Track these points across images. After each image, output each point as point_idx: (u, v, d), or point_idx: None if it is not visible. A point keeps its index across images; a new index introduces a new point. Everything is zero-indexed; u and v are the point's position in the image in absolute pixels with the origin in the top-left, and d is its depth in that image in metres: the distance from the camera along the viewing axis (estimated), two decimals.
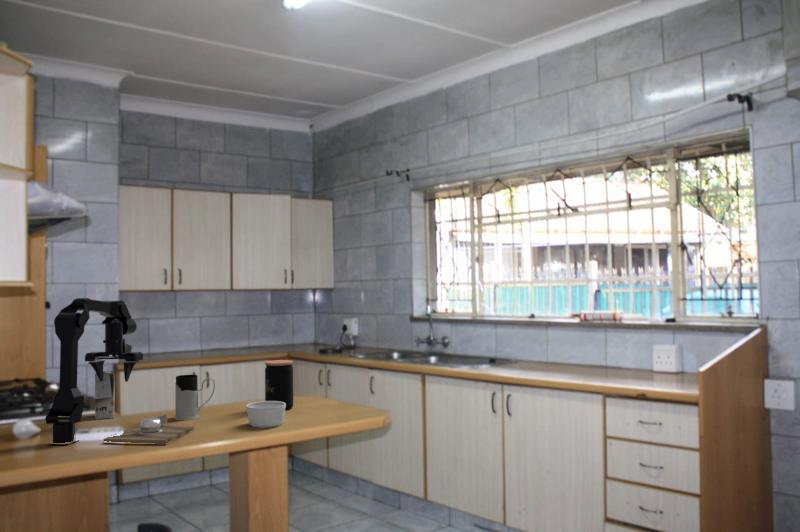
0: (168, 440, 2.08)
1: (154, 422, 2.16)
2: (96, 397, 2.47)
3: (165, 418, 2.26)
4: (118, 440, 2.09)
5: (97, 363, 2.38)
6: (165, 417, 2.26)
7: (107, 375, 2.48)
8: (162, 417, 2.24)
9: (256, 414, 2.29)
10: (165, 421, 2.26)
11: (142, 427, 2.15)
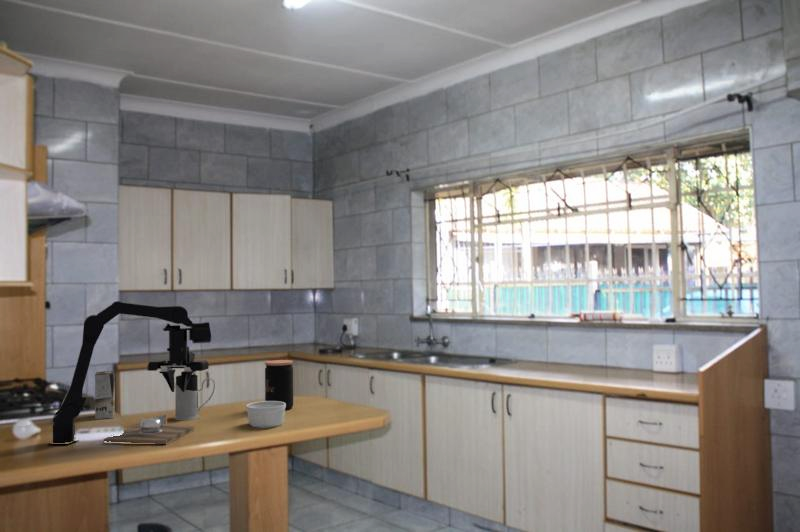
0: (168, 440, 2.08)
1: (154, 422, 2.16)
2: (96, 397, 2.47)
3: (165, 418, 2.26)
4: (118, 440, 2.09)
5: (169, 372, 2.23)
6: (165, 417, 2.26)
7: (107, 375, 2.48)
8: (162, 417, 2.24)
9: (256, 414, 2.29)
10: (165, 421, 2.26)
11: (142, 427, 2.15)
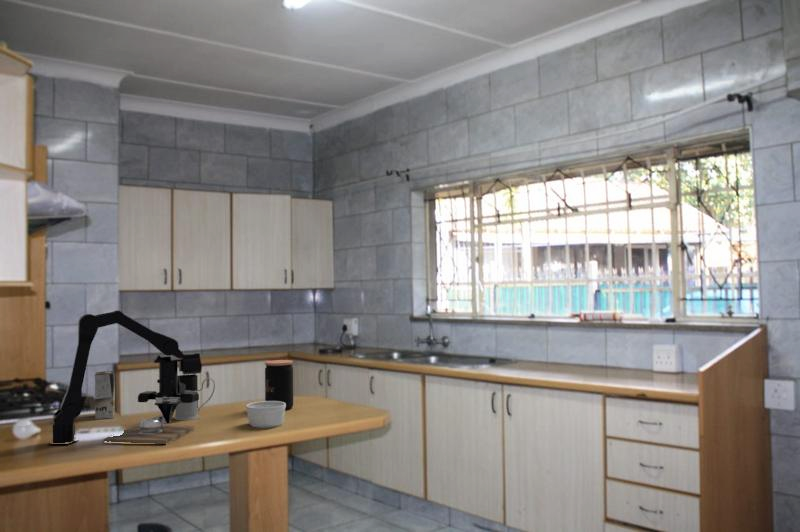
0: (168, 440, 2.08)
1: (154, 422, 2.16)
2: (96, 397, 2.47)
3: None
4: (118, 440, 2.09)
5: (164, 404, 2.23)
6: None
7: (107, 375, 2.48)
8: (162, 417, 2.24)
9: (256, 414, 2.29)
10: (165, 421, 2.26)
11: (142, 427, 2.15)
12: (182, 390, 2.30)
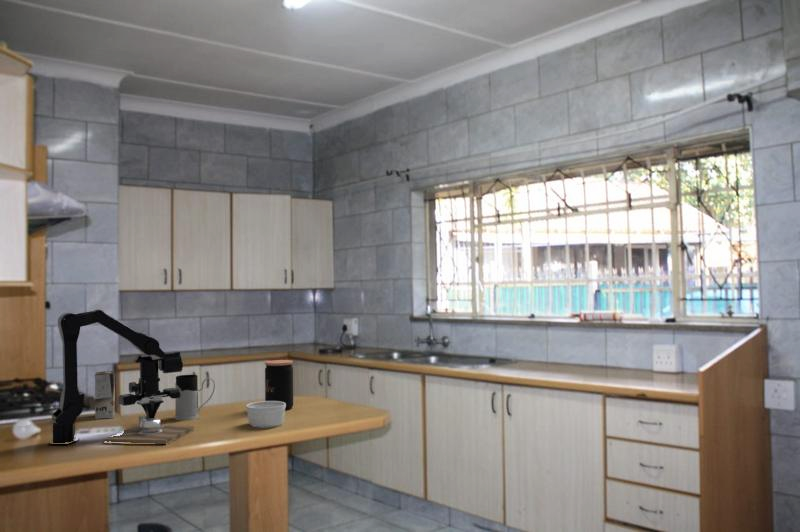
0: (168, 440, 2.08)
1: (159, 421, 2.18)
2: (96, 397, 2.47)
3: None
4: (118, 440, 2.09)
5: None
6: None
7: (107, 375, 2.48)
8: None
9: (256, 414, 2.29)
10: None
11: (149, 427, 2.15)
12: None
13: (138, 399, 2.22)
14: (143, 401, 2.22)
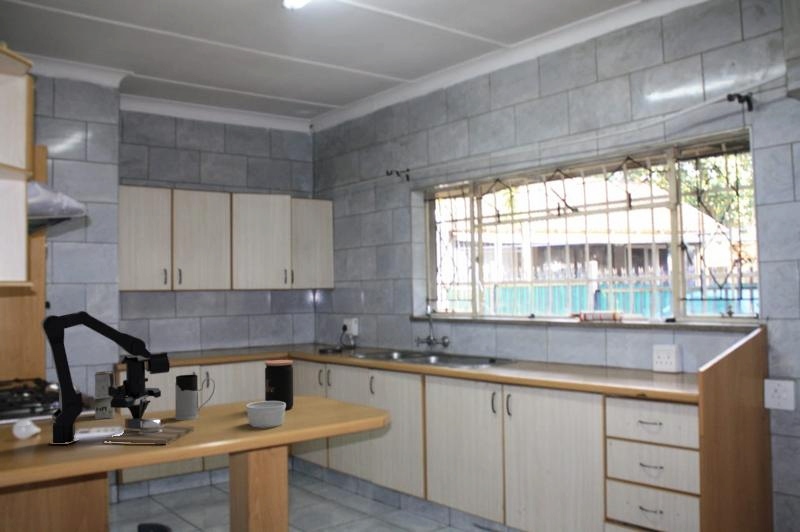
0: (168, 440, 2.08)
1: None
2: (96, 397, 2.47)
3: None
4: (118, 440, 2.09)
5: None
6: None
7: (107, 375, 2.48)
8: None
9: (256, 414, 2.29)
10: None
11: (154, 427, 2.16)
12: None
13: None
14: (136, 402, 2.19)
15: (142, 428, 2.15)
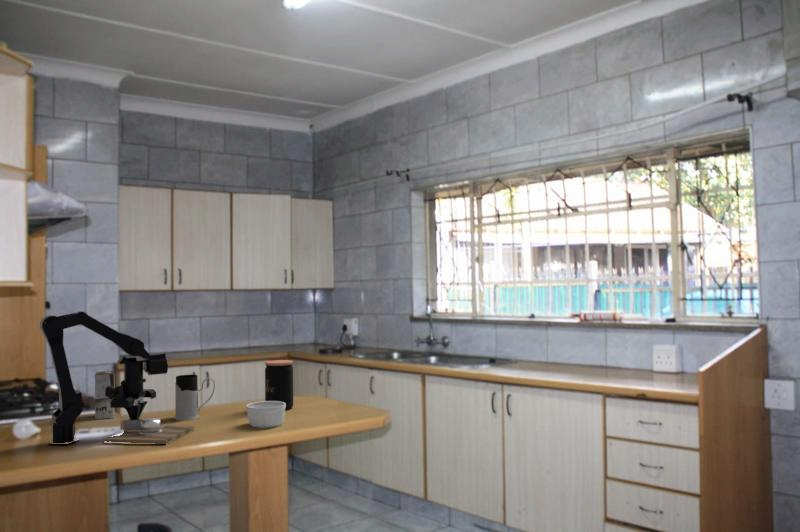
0: (168, 440, 2.08)
1: None
2: (96, 397, 2.47)
3: None
4: (118, 440, 2.09)
5: None
6: None
7: (107, 375, 2.48)
8: None
9: (256, 414, 2.29)
10: None
11: (156, 426, 2.16)
12: None
13: None
14: (135, 402, 2.19)
15: (144, 428, 2.15)
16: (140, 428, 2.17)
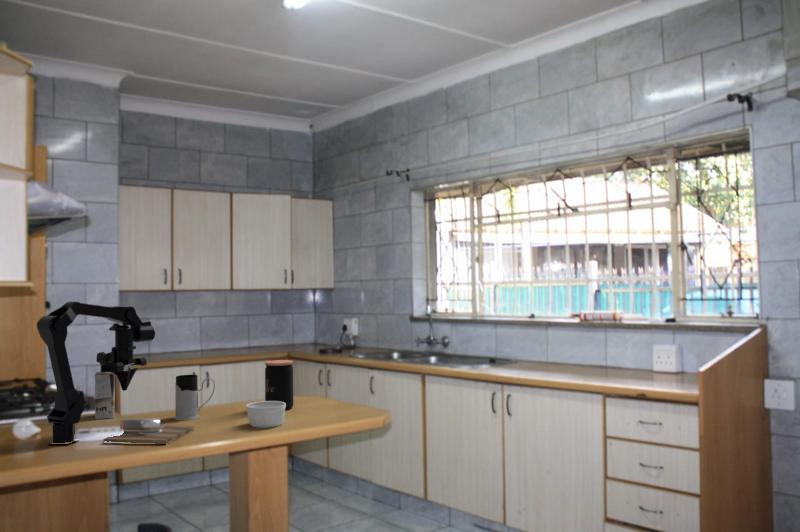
0: (168, 440, 2.08)
1: None
2: (96, 397, 2.47)
3: None
4: (118, 440, 2.09)
5: None
6: None
7: (107, 375, 2.48)
8: None
9: (256, 414, 2.29)
10: None
11: (156, 426, 2.16)
12: None
13: None
14: (125, 368, 2.26)
15: (144, 428, 2.15)
16: (140, 428, 2.17)
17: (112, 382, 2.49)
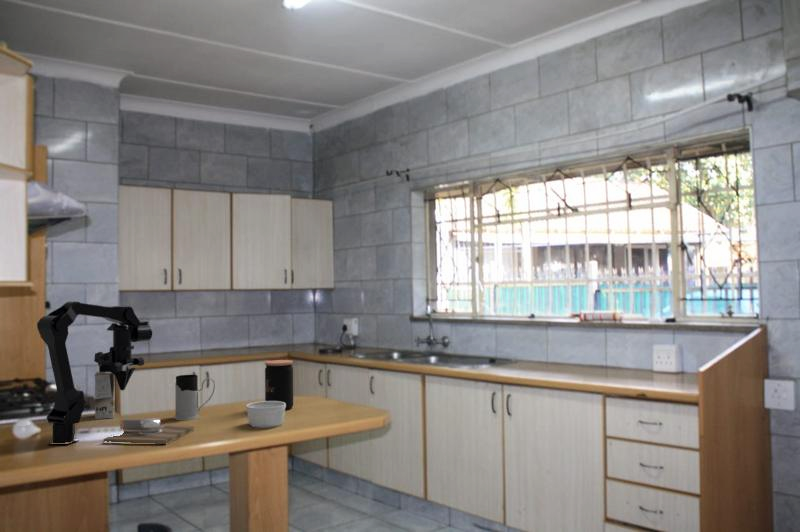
0: (168, 440, 2.08)
1: None
2: (96, 397, 2.47)
3: None
4: (118, 440, 2.09)
5: None
6: None
7: (107, 375, 2.48)
8: None
9: (256, 414, 2.29)
10: None
11: (156, 426, 2.16)
12: None
13: None
14: (123, 368, 2.27)
15: (144, 428, 2.15)
16: (140, 428, 2.17)
17: (112, 382, 2.49)
